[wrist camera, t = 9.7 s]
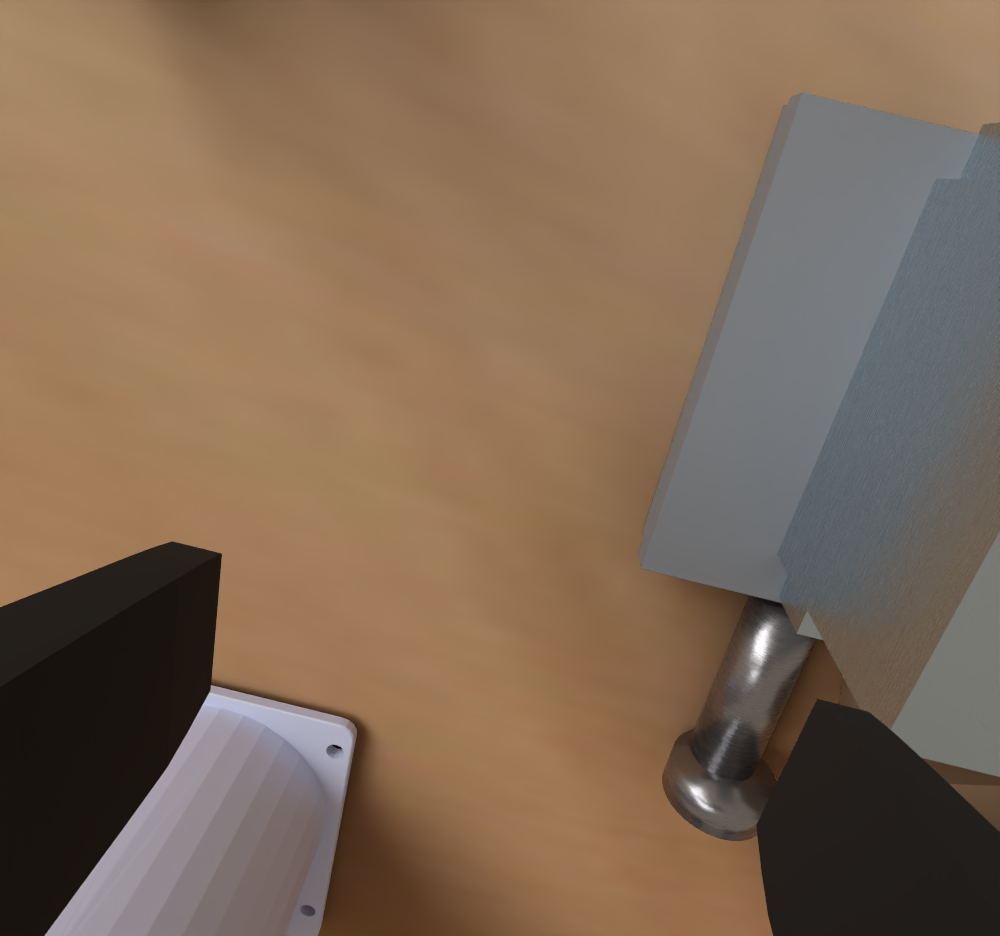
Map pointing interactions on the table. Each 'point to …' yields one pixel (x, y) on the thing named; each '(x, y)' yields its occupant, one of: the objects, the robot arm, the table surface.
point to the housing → (918, 490)
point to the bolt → (738, 726)
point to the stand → (790, 334)
